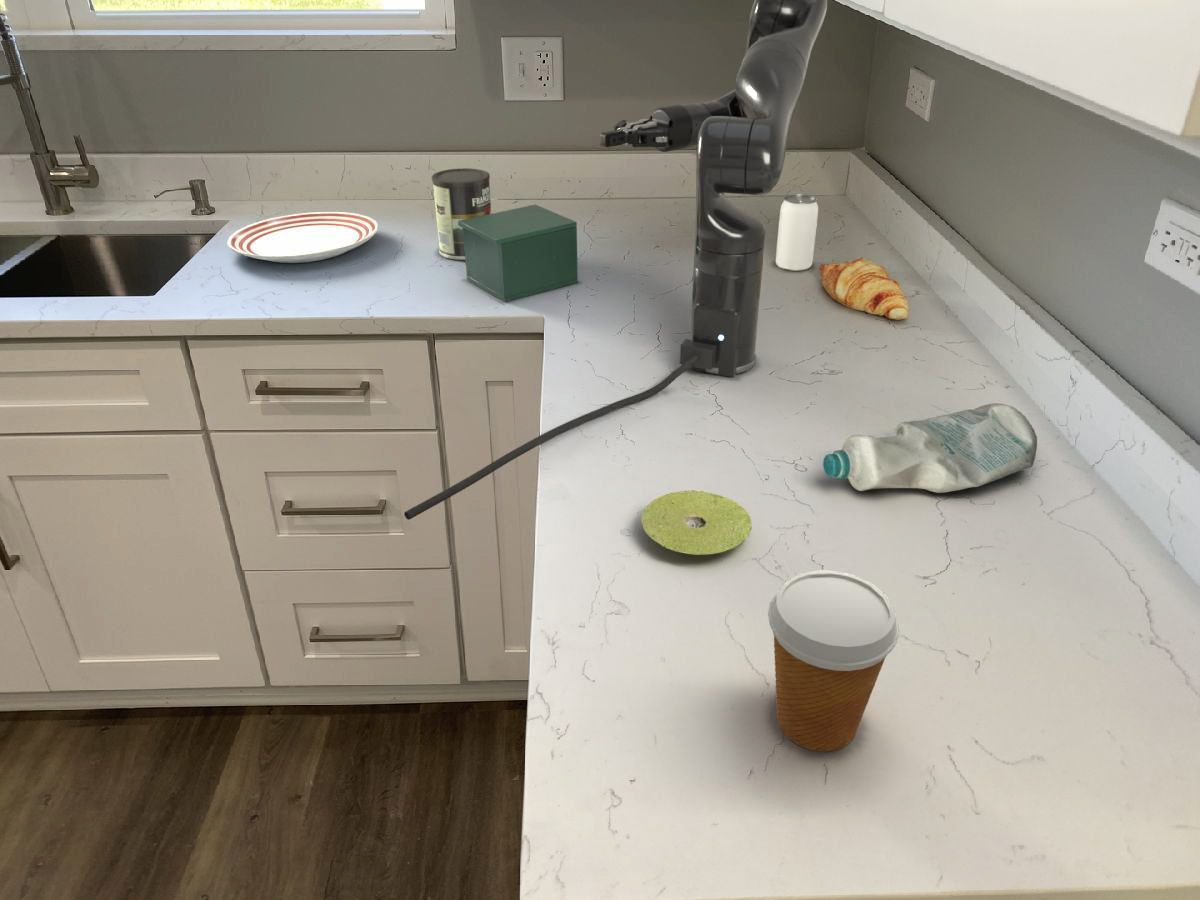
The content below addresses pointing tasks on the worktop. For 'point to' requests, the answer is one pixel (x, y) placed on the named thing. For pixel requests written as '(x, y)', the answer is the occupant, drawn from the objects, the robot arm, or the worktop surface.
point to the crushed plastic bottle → (939, 452)
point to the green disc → (696, 522)
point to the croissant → (865, 288)
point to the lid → (516, 224)
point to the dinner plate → (303, 236)
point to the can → (797, 232)
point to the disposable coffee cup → (828, 654)
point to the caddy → (522, 263)
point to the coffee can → (458, 205)
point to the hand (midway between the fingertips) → (603, 140)
